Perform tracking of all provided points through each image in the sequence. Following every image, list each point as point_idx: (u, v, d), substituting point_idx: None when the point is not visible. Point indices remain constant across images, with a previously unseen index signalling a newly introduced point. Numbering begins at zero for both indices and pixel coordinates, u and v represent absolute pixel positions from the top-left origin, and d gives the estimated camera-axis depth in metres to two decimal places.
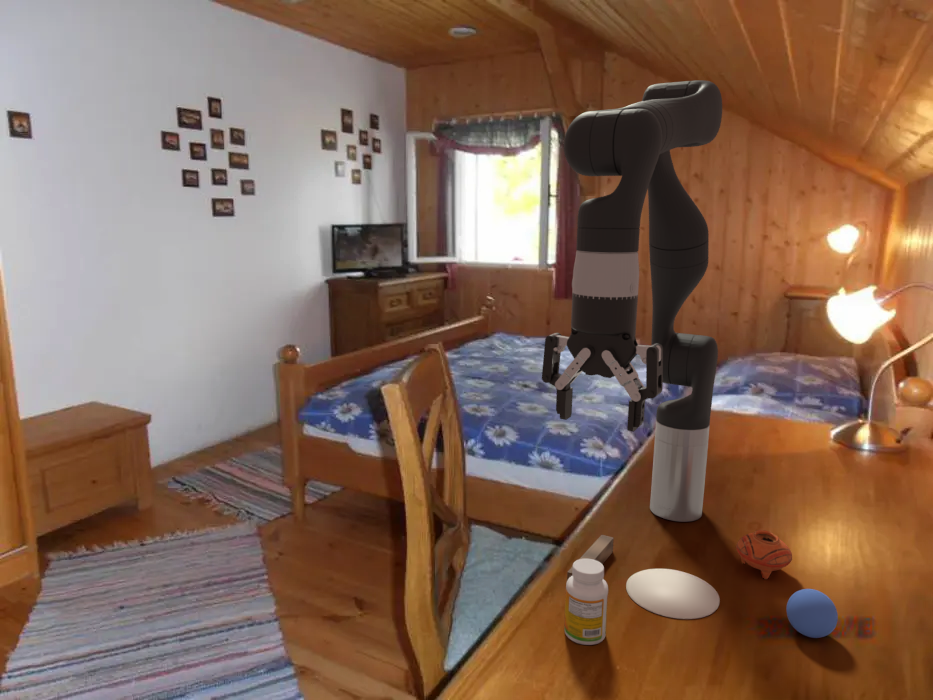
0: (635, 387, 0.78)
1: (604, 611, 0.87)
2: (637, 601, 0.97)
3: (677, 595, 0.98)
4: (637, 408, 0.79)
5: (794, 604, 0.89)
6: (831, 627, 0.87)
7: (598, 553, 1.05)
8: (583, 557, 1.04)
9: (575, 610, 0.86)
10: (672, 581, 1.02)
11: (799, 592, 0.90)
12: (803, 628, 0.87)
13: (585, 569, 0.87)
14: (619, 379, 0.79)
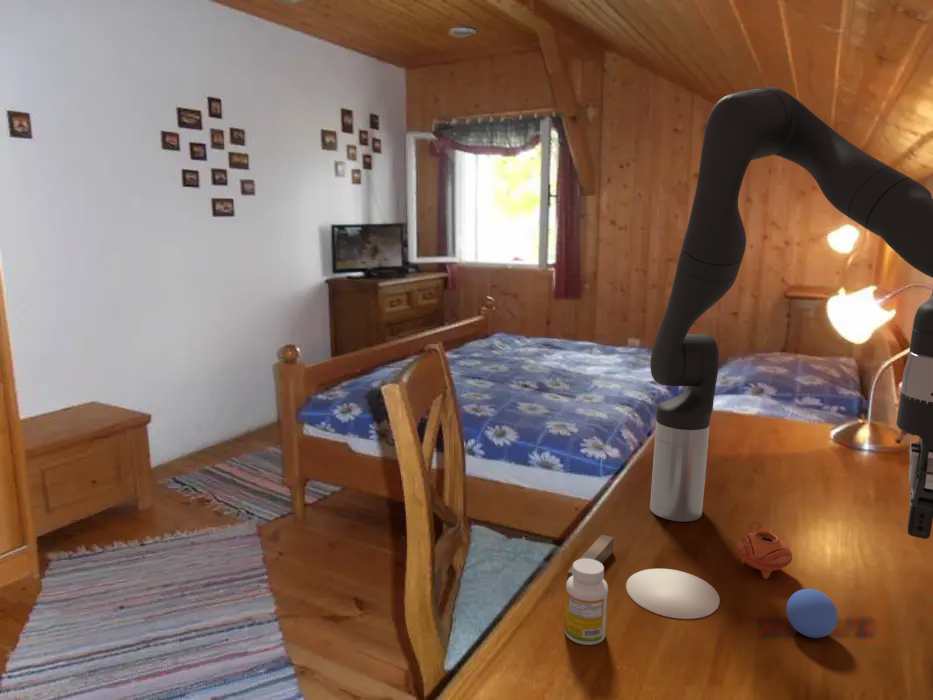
0: None
1: (605, 611, 0.87)
2: (637, 601, 0.97)
3: (677, 595, 0.98)
4: None
5: (794, 604, 0.89)
6: (831, 627, 0.87)
7: (598, 553, 1.05)
8: (583, 557, 1.04)
9: (575, 610, 0.86)
10: (672, 581, 1.02)
11: (799, 592, 0.90)
12: (803, 628, 0.87)
13: (585, 569, 0.87)
14: None
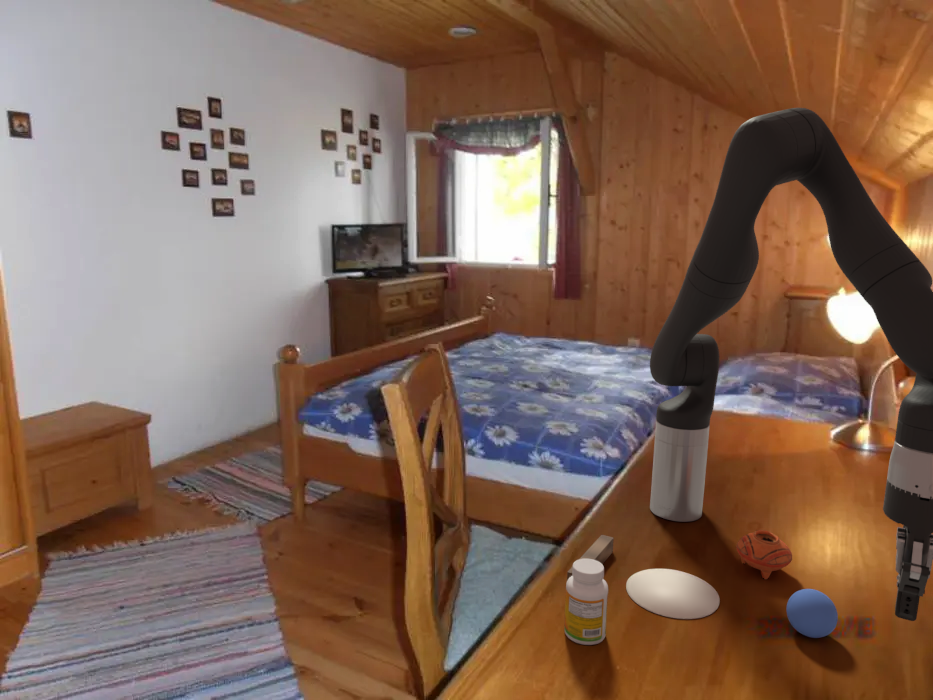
0: None
1: (605, 611, 0.87)
2: (637, 601, 0.97)
3: (677, 595, 0.98)
4: None
5: (794, 604, 0.89)
6: (831, 627, 0.87)
7: (598, 553, 1.05)
8: (583, 557, 1.04)
9: (575, 610, 0.86)
10: (672, 581, 1.02)
11: (799, 592, 0.90)
12: (803, 628, 0.87)
13: (585, 569, 0.87)
14: None
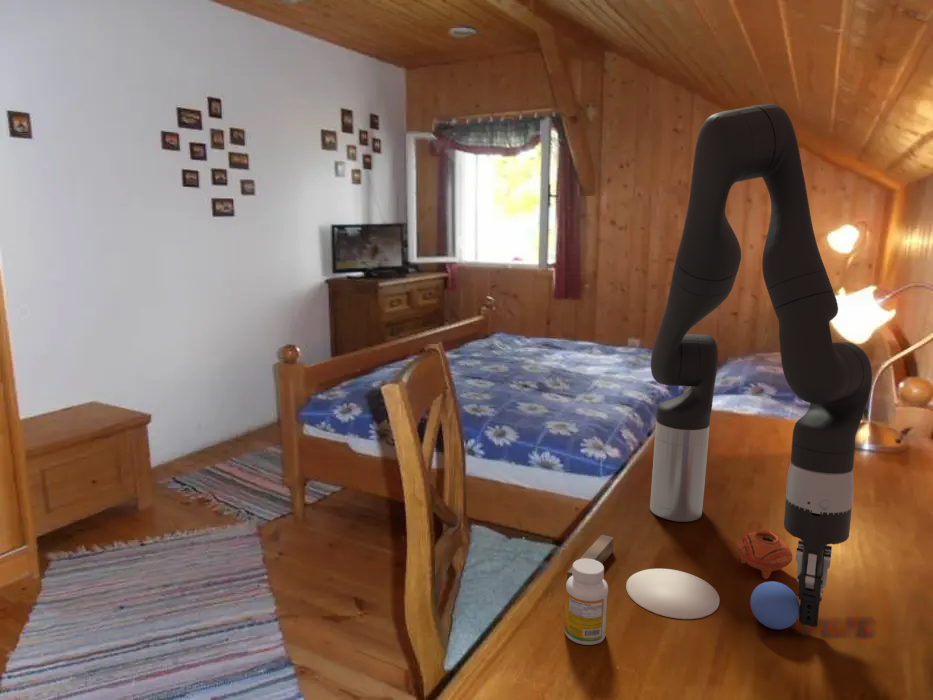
0: None
1: (605, 611, 0.87)
2: (637, 601, 0.97)
3: (677, 595, 0.98)
4: None
5: (753, 610, 0.91)
6: (787, 605, 0.88)
7: (598, 553, 1.05)
8: (583, 557, 1.04)
9: (575, 610, 0.86)
10: (672, 581, 1.02)
11: (751, 597, 0.92)
12: (773, 624, 0.89)
13: (585, 569, 0.87)
14: None
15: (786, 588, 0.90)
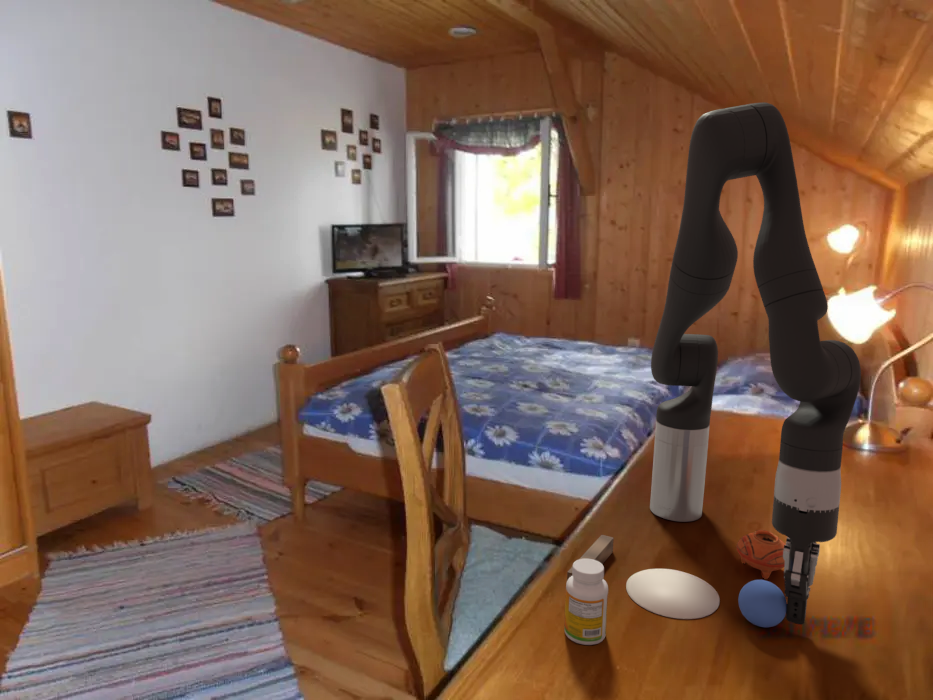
0: None
1: (604, 611, 0.87)
2: (637, 601, 0.97)
3: (677, 595, 0.98)
4: None
5: None
6: (769, 601, 0.89)
7: (598, 553, 1.05)
8: (583, 557, 1.04)
9: (575, 610, 0.86)
10: (672, 581, 1.02)
11: None
12: (763, 623, 0.89)
13: (585, 569, 0.87)
14: (814, 572, 0.89)
15: (765, 583, 0.91)
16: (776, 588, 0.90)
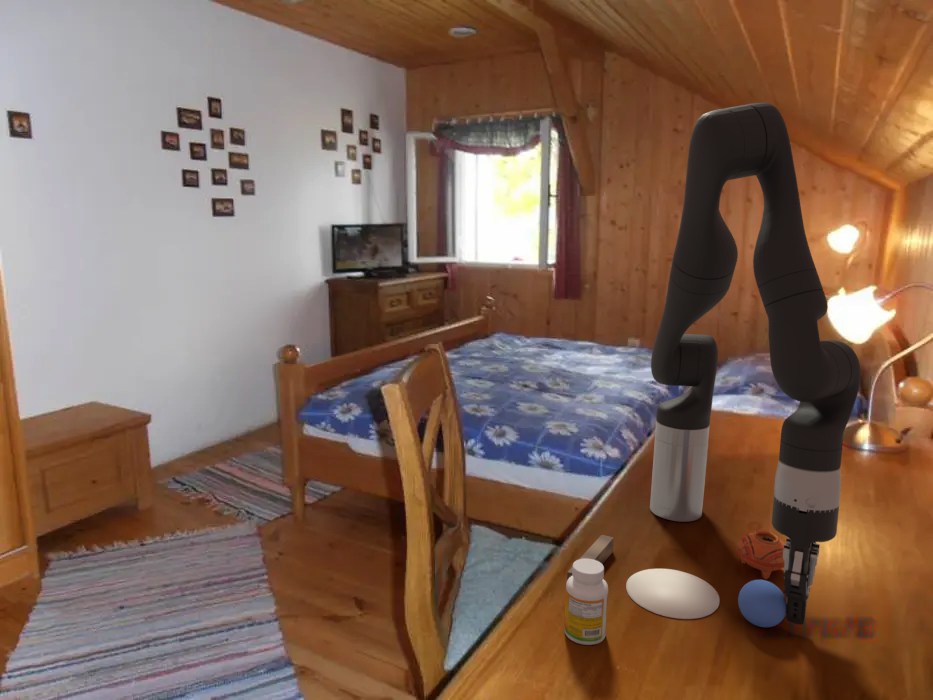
0: None
1: (604, 611, 0.87)
2: (637, 601, 0.97)
3: (677, 595, 0.98)
4: None
5: (743, 615, 0.92)
6: (769, 601, 0.89)
7: (598, 553, 1.05)
8: (583, 557, 1.04)
9: (575, 610, 0.86)
10: (672, 581, 1.02)
11: None
12: (763, 623, 0.89)
13: (585, 569, 0.87)
14: (814, 572, 0.89)
15: (765, 583, 0.91)
16: (776, 588, 0.90)
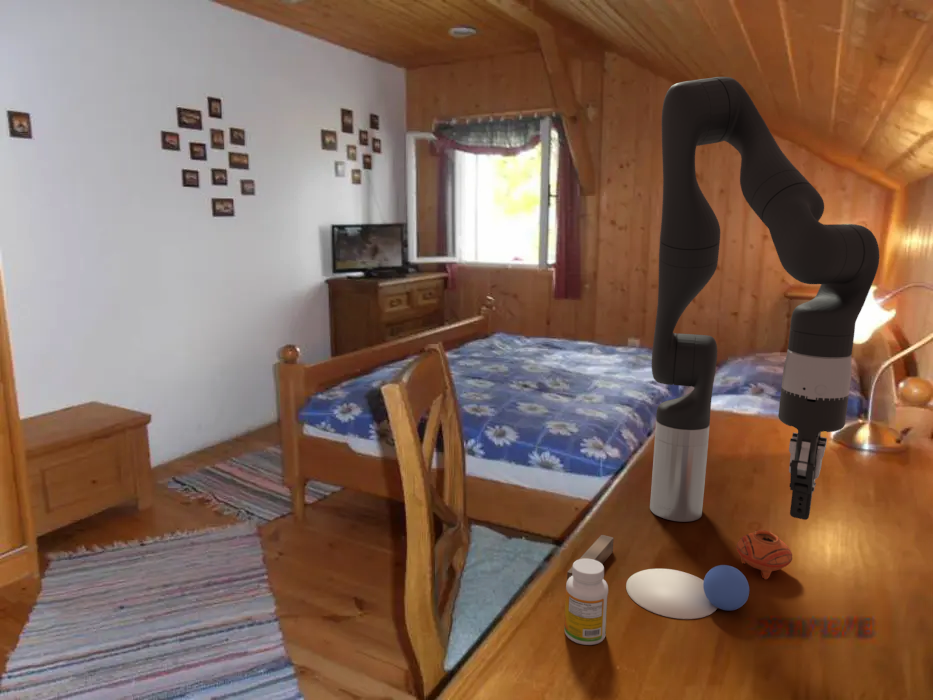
0: None
1: (604, 611, 0.87)
2: (637, 601, 0.97)
3: (677, 595, 0.98)
4: None
5: (732, 606, 0.93)
6: (707, 577, 0.95)
7: (598, 553, 1.05)
8: (583, 557, 1.04)
9: (575, 610, 0.86)
10: (672, 581, 1.02)
11: None
12: (727, 586, 0.93)
13: (585, 569, 0.87)
14: (820, 466, 0.87)
15: None
16: None
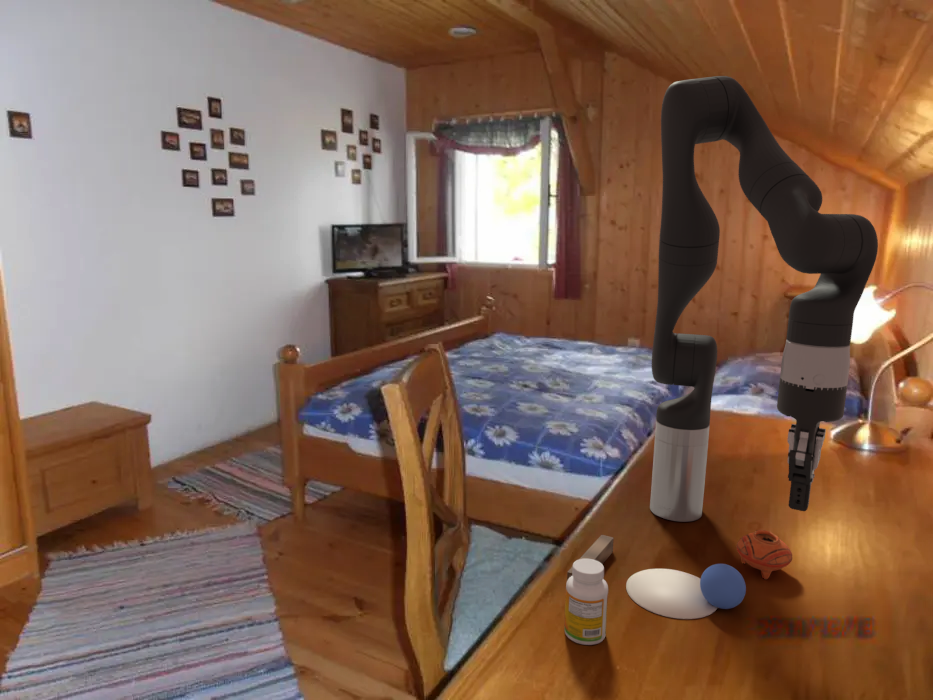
0: None
1: (605, 611, 0.87)
2: (637, 601, 0.97)
3: (677, 595, 0.98)
4: None
5: (730, 603, 0.93)
6: (702, 578, 0.96)
7: (598, 553, 1.05)
8: (583, 557, 1.04)
9: (575, 610, 0.86)
10: (672, 581, 1.02)
11: (729, 608, 0.94)
12: (722, 583, 0.93)
13: (585, 569, 0.87)
14: (819, 457, 0.86)
15: None
16: None
